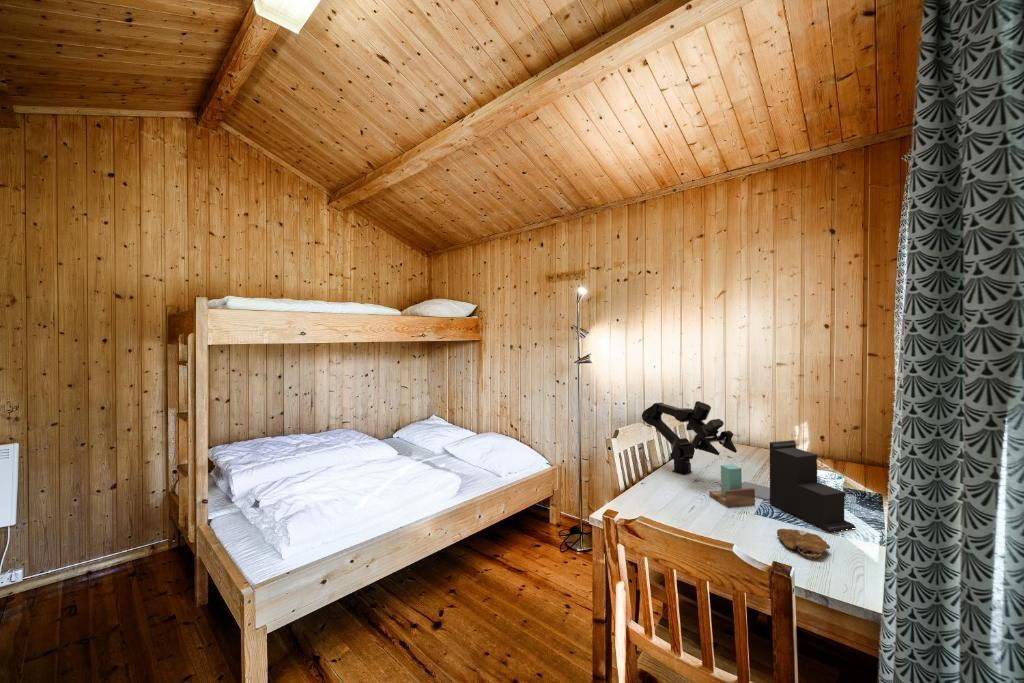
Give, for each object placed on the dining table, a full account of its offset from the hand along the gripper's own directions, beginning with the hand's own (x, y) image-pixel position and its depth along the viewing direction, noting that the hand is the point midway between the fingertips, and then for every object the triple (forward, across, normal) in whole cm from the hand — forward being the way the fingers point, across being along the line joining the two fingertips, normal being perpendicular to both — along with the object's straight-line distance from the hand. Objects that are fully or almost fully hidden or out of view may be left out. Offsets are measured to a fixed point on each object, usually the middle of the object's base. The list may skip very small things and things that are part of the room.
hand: (727, 453), depth 167 cm
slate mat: (+11, +10, +12) cm, 19 cm away
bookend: (+32, +6, +1) cm, 33 cm away
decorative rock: (+45, -16, -5) cm, 48 cm away
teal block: (+13, -7, +8) cm, 17 cm away
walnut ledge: (+14, -7, +10) cm, 19 cm away
